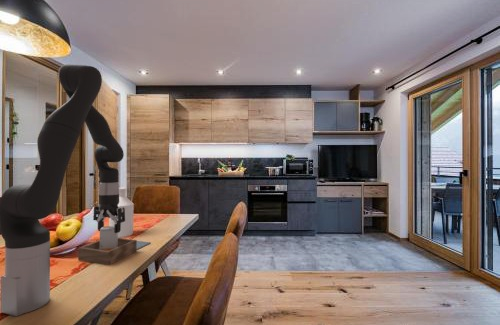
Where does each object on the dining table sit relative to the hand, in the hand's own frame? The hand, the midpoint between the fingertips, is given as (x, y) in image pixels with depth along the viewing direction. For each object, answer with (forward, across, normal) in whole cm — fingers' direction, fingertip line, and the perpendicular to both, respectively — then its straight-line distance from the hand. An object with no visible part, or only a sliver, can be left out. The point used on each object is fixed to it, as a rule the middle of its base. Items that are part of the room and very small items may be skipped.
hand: (109, 231), depth 104 cm
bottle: (+10, -18, +25) cm, 33 cm away
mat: (+10, +2, +13) cm, 17 cm away
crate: (+10, 0, 0) cm, 10 cm away
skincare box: (+10, 0, 0) cm, 10 cm away
